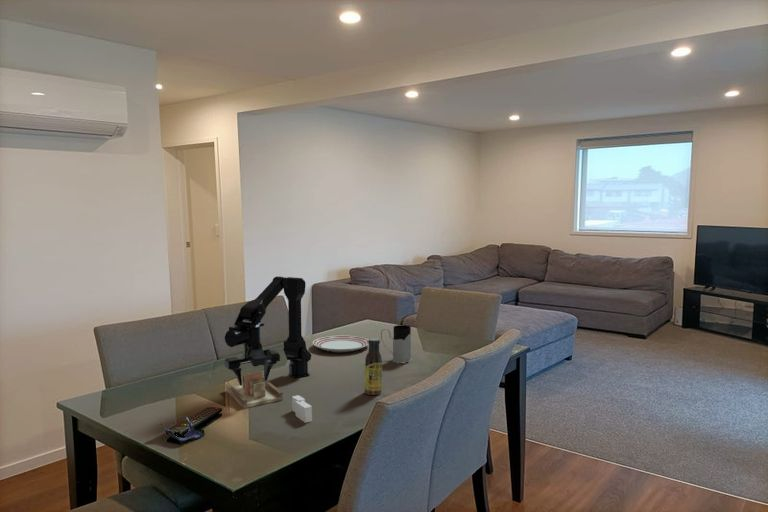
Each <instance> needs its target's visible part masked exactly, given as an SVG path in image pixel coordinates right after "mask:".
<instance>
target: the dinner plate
mask: <svg viewBox="0 0 768 512" xmlns="http://www.w3.org/2000/svg"><path fill="white" fill-rule="evenodd" d="M368 341H369V339H368V338H365V337H362V336H356V335H346V334H345V335H328V336H323V337H318V338H316V339H314V340H313V341H312V345H313V346H315V348H318V349H320V350H323V351H325V350H326V352H329V351H331V352H330V353H349V351H351V352H355V351H354V350H356V351H358V350H360V349H363V348H365V347H366V346H369V343H368Z"/></svg>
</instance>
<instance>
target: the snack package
mask: <svg viewBox="0 0 768 512" xmlns="http://www.w3.org/2000/svg"><path fill="white" fill-rule="evenodd" d="M183 419H184V420H185V421H186V423H187V424H188V426H189V427H188V428H189V430H188V432H187V433H186V434H185V435H184V436H185V437H180V436H178V435H177V436H178V437H177V436H175V435H174V433H175V431H170V430H169V429H170V428H167V427H166V426H164V425H163V424H162V423H161V422H160V426H161V427H163V428H164V431H165V432H166V433H167V434H168V435H170V436H171V438H173V439H175V440H178V442H179V443H180V444H183V443H184V442H186V441H188V440H191V441H195V440H199V439H200V438H202V437H203V436H205V435H206V432H205V430H204V429H200V428H195V427H194V426H193V422H192V421H190V419H189V418H188V416H185V417H184V418H183ZM171 427H173V425H171ZM171 429H172V430H174V429H173V428H171Z"/></svg>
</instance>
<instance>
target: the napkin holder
mask: <svg viewBox="0 0 768 512" xmlns="http://www.w3.org/2000/svg"><path fill="white" fill-rule="evenodd" d="M291 402H292V407H291V408H292V412H293V413H295V417H297V419H299V420H301V421H302V422H303V423H304V424H306V423H310V422H313V406H312V405H311V404H309V403H307V402H306V399H305V398H304V397H303V396H300V394H299V395H298V394H297V395H293V396H291Z"/></svg>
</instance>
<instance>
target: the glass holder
mask: <svg viewBox="0 0 768 512" xmlns="http://www.w3.org/2000/svg"><path fill="white" fill-rule="evenodd" d="M384 330H386V331H387V332H388V333H389V334H388V335H389V338H390V339H391V340H392V345H393V346H392V347H393V348H392V349H393V350H392V349H390V347H388V346H387V344H385V341H384V340H383V335H382V334H383V331H384ZM391 335H392V334H391V331H390V329H388V328H383V329H382V330H381V331H380V340H381V342H382V343H383V345H384V347H385V348H386V349H387V350H388V351H390V353H391V354H392V357H393V358H392V360H393V361H395V362H409V361H411V360H412V361H413V359H412V327H411V326H410V325H405V324H399V325H398V324H397V325H394V326H393V337H392V336H391ZM393 361H392V362H393ZM395 362H394V363H395Z"/></svg>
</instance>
